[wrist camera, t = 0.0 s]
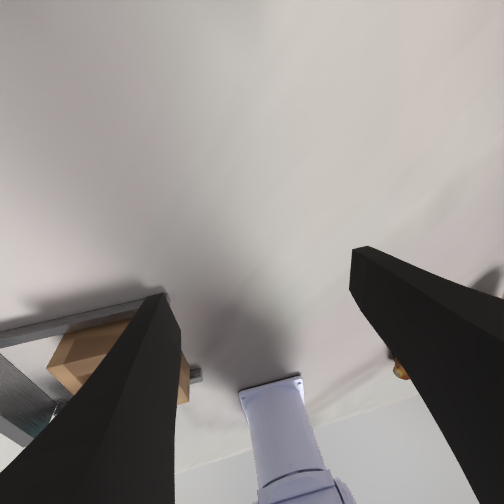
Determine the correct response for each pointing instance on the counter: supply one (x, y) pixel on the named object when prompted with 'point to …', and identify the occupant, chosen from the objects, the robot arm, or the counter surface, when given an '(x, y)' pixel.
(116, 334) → the brown rectangular frame
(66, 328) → the backstop
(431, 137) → the counter surface
